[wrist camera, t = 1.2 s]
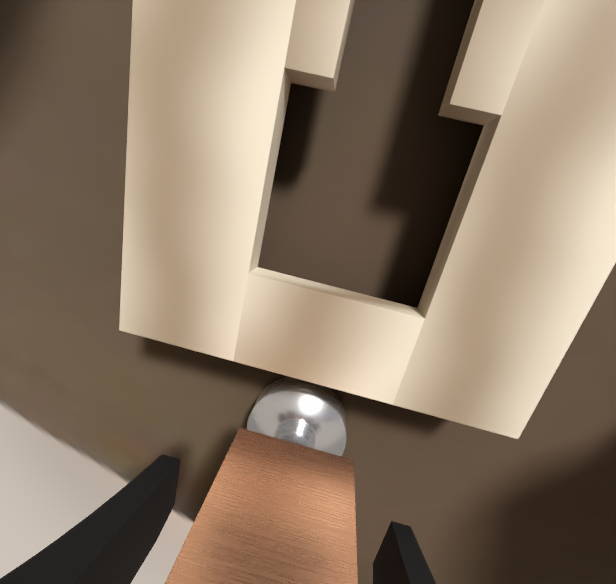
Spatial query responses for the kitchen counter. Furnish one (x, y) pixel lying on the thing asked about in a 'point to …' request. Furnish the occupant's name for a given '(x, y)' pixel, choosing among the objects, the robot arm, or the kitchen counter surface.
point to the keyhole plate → (459, 233)
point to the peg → (279, 498)
